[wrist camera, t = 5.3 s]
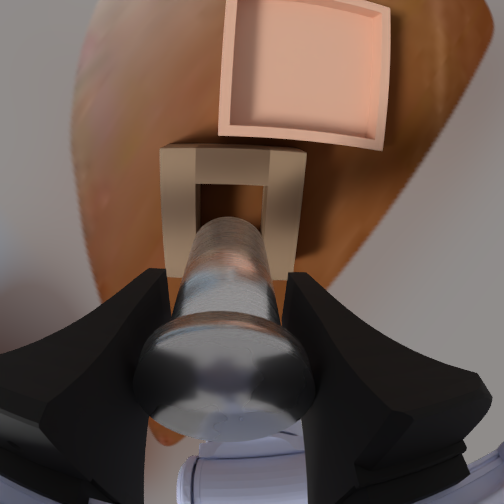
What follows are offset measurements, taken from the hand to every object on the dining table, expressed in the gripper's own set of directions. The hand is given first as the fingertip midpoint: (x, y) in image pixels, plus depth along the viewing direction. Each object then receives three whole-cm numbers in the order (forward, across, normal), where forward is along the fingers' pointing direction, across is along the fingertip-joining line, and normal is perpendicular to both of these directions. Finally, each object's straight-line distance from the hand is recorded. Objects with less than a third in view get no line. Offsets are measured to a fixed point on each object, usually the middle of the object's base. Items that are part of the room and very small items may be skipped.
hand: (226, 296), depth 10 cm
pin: (+3, 0, 0) cm, 3 cm away
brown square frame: (+10, 0, 0) cm, 10 cm away
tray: (+10, -4, -9) cm, 15 cm away
